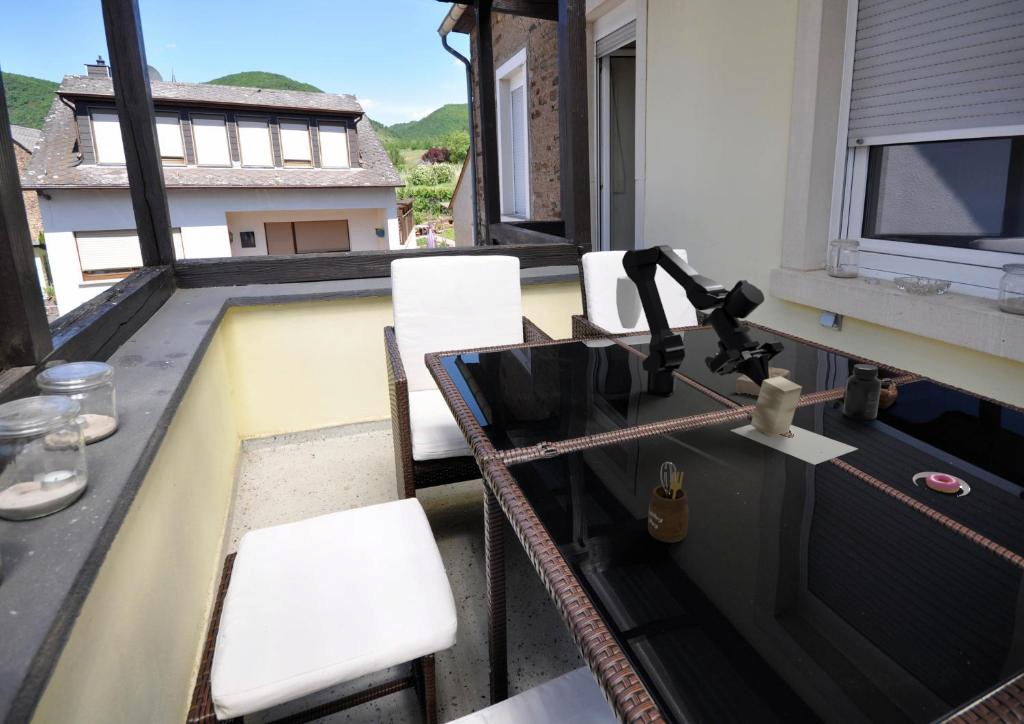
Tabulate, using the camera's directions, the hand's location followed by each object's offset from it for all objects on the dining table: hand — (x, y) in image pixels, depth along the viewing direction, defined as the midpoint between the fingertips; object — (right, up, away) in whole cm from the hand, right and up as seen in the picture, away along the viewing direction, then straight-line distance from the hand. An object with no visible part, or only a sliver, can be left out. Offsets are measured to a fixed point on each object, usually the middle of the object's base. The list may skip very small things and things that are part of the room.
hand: (767, 389), depth 127 cm
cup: (-11, +16, +94) cm, 96 cm away
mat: (+4, -11, -3) cm, 12 cm away
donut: (+22, -16, -21) cm, 34 cm away
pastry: (+35, -4, +21) cm, 41 cm away
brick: (+12, -2, +30) cm, 33 cm away
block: (+1, -9, +1) cm, 9 cm away
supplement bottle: (+26, -7, +11) cm, 29 cm away
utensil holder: (-31, -21, -36) cm, 52 cm away
